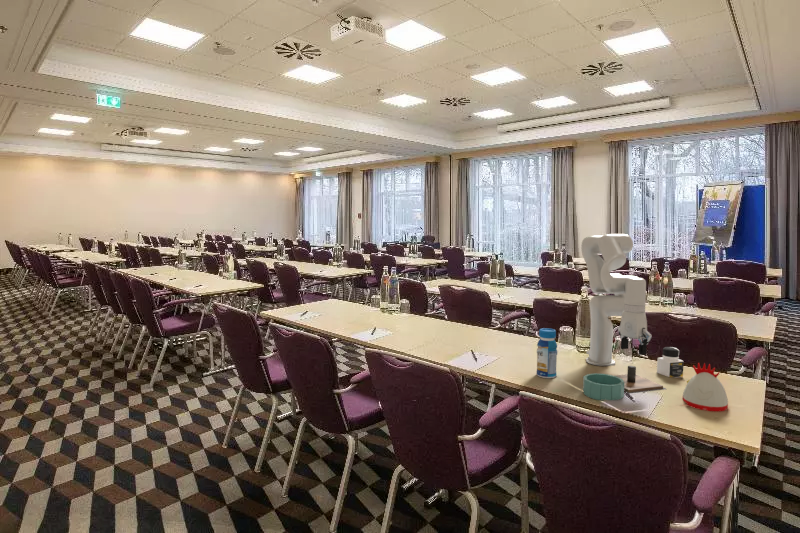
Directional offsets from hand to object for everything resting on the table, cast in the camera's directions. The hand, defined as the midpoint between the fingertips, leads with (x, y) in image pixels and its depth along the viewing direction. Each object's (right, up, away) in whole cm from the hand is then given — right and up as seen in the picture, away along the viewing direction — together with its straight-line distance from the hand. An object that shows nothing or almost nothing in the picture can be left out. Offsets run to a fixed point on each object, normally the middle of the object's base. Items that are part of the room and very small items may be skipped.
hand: (633, 351), depth 194 cm
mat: (0, -14, +2) cm, 14 cm away
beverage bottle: (-30, -13, +14) cm, 36 cm away
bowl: (-16, -15, -9) cm, 23 cm away
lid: (0, -13, +2) cm, 13 cm away
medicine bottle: (+22, -13, +14) cm, 30 cm away
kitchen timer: (+17, -16, -18) cm, 30 cm away
